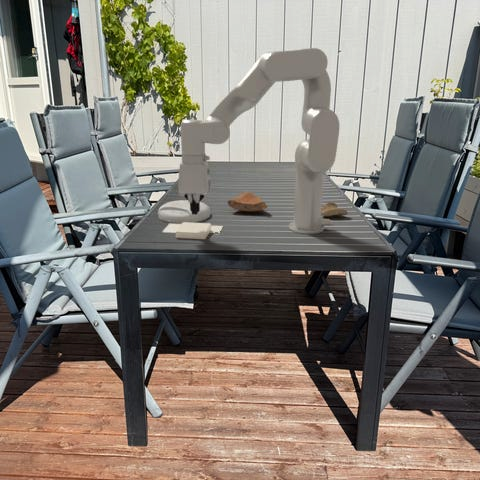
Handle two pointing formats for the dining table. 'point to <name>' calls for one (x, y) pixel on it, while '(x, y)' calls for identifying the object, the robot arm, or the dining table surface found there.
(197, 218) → the round ceiling alarm
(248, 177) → the dining table surface
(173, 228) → the mat
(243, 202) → the ceramic shard
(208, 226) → the glazed tile
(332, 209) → the pottery shard
